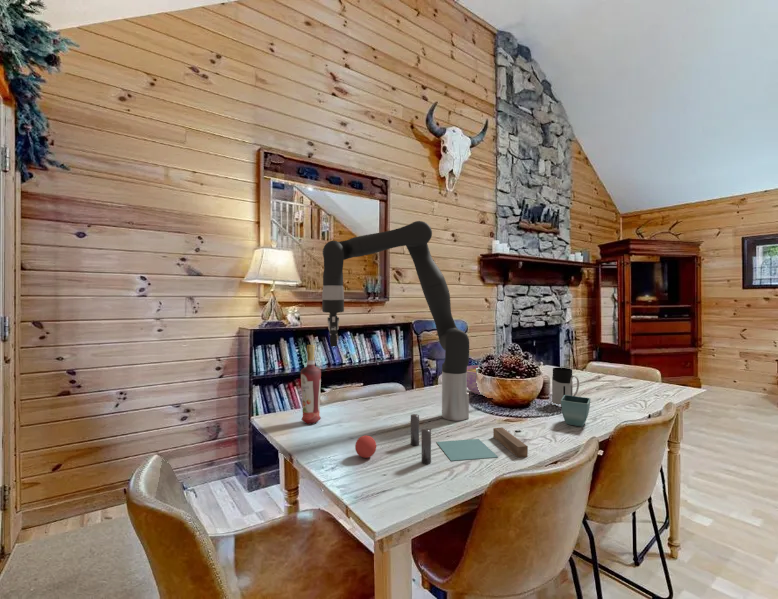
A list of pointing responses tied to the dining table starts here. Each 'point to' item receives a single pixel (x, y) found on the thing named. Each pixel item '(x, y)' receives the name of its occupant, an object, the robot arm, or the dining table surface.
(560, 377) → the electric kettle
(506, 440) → the wall
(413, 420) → the post far
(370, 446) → the ball
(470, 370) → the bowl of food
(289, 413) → the dining table surface
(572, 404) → the flower pot
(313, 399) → the red condiment bottle
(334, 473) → the dining table surface
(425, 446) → the post near
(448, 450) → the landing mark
